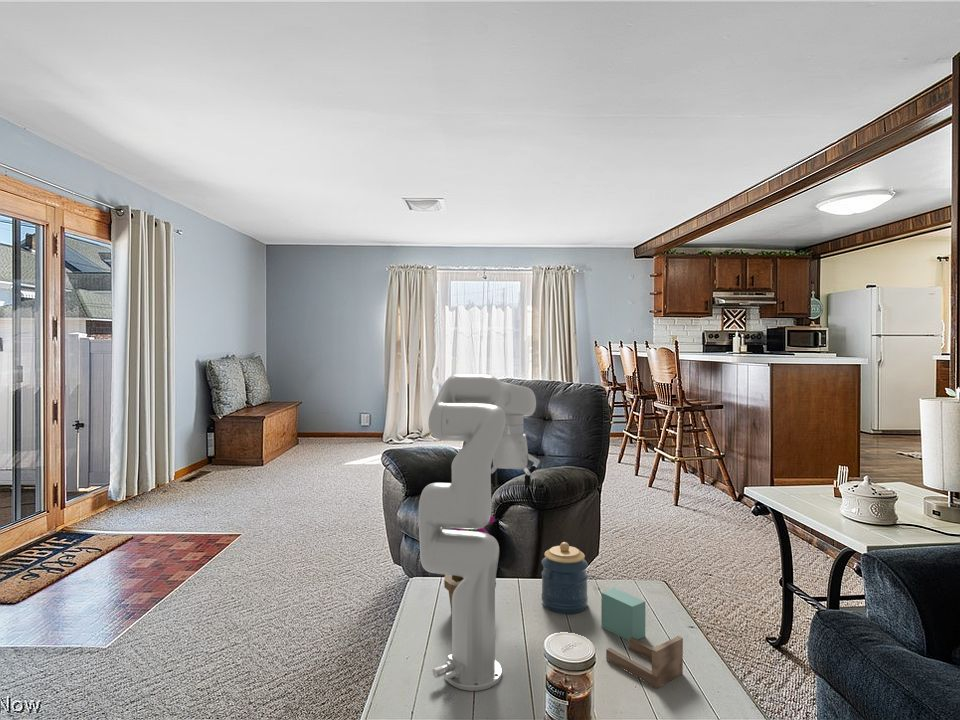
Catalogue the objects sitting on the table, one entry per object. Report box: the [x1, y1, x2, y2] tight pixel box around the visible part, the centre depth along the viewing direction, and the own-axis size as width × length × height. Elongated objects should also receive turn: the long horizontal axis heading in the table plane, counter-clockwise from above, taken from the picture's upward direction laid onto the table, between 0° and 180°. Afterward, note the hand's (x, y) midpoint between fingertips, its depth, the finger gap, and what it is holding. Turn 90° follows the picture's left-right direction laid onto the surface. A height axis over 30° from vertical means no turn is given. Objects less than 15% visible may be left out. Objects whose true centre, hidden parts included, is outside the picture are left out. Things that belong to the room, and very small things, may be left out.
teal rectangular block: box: [600, 587, 646, 641], centre depth 143 cm, size 5×10×9 cm, turn 36°
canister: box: [541, 541, 589, 615], centre depth 159 cm, size 13×13×18 cm
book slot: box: [605, 635, 684, 689], centre depth 127 cm, size 9×14×8 cm
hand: (510, 486), depth 167 cm, fingers open, 9 cm apart
